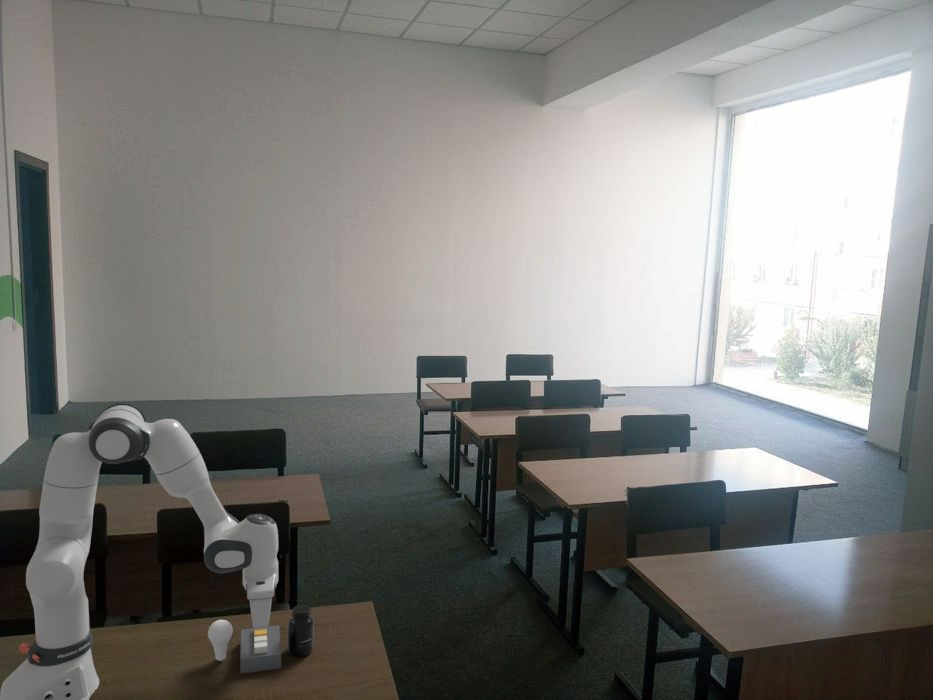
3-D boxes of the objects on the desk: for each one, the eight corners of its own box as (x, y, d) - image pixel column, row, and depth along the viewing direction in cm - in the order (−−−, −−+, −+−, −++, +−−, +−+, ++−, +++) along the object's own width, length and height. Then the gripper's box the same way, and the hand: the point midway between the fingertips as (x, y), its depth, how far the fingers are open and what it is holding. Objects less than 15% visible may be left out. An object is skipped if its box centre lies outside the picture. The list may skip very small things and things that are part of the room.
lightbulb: (225, 669, 179) (224, 629, 177) (203, 665, 180) (202, 625, 179) (237, 655, 185) (237, 617, 183) (216, 651, 186) (216, 613, 185)
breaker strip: (281, 668, 180) (281, 647, 180) (240, 673, 178) (240, 652, 177) (278, 624, 201) (278, 605, 200) (241, 628, 198) (241, 609, 197)
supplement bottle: (306, 660, 184) (306, 617, 183) (282, 655, 186) (282, 613, 184) (318, 645, 191) (318, 605, 189) (295, 641, 193) (295, 600, 191)
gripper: (248, 559, 189) (248, 607, 191) (247, 596, 170) (247, 649, 172) (272, 557, 191) (272, 604, 193) (274, 594, 171) (274, 646, 173)
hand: (260, 626), depth 182 cm, fingers closed
